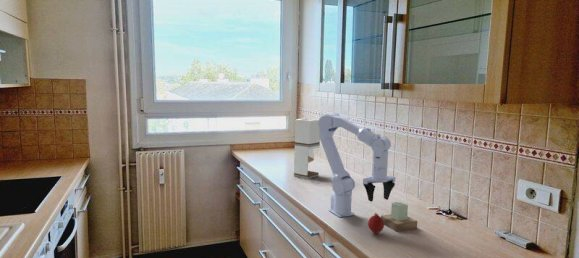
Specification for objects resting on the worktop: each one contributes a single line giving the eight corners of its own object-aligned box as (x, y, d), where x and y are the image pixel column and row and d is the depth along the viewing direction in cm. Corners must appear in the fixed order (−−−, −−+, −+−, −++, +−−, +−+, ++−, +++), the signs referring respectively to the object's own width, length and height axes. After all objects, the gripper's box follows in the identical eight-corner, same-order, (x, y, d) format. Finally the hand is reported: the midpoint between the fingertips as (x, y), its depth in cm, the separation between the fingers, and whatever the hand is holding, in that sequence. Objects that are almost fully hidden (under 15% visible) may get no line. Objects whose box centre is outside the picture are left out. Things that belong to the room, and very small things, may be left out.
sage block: (391, 217, 152) (391, 202, 151) (399, 216, 154) (400, 201, 153) (398, 220, 148) (398, 206, 147) (407, 219, 150) (407, 204, 149)
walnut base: (380, 222, 154) (380, 215, 154) (400, 220, 158) (400, 213, 158) (396, 231, 145) (396, 224, 144) (417, 228, 149) (417, 221, 148)
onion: (381, 230, 145) (382, 210, 144) (385, 236, 139) (386, 215, 139) (366, 230, 145) (367, 210, 144) (369, 236, 139) (370, 215, 138)
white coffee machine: (308, 179, 224) (310, 120, 221) (293, 176, 231) (295, 119, 227) (318, 175, 234) (320, 119, 230) (304, 173, 240) (306, 118, 236)
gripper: (370, 170, 145) (369, 204, 147) (401, 168, 151) (399, 201, 153) (360, 166, 152) (358, 199, 153) (389, 164, 158) (388, 196, 159)
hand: (378, 199), depth 153 cm, fingers open, 7 cm apart
